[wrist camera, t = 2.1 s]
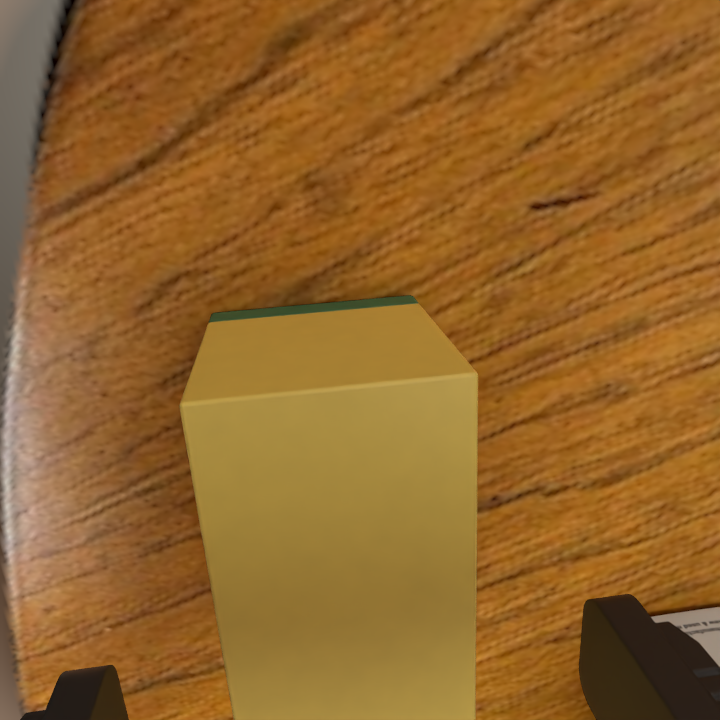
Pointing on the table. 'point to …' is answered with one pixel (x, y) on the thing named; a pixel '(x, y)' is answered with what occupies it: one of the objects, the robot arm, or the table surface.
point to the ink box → (698, 627)
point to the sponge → (338, 509)
